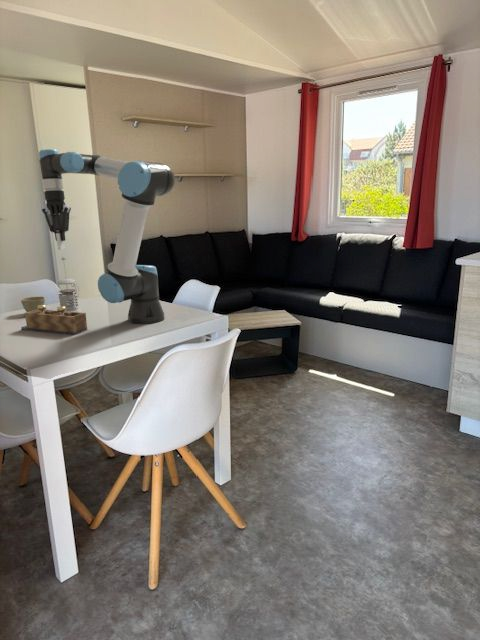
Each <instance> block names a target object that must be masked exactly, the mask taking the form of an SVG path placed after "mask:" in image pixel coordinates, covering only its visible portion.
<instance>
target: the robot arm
mask: <svg viewBox="0 0 480 640" xmlns="http://www.w3.org/2000/svg"><path fill="white" fill-rule="evenodd" d="M38 158H39V159H38V161H39V167H40V174H41V180H42V186H43V190H44V192H43V193H44V195H43V196H44V200H45V201H46V204H45V207H44V208H42V209H41V212H42V213H43V215H44V217H45V219H46V223H47V225H48V229H49V232H51V233H53V234H54V237H55V241H56V243H57V244H56V246H57V249H58V250H65V249H66V243H65V241H66V234H65V233H66V232H69V227H70V213H71V211H72V208H71V207H70V206H67V205H66V202H65V201H64V200H65V199H66V198H65V197H66V196H65V191H64V190H63V189H64V183H63V175H64V174H85V175H94V176H99V177H104V178H109V179H112V180H117V185H118V189H119V190H120V192H121V198H122V200H123V201H124V205H123V208H122V214H121V218H120V223H119V224H120V225H119V228H118V232H117V239H116V245H115V249H114V254H113V258H112V261H111V262H110V263H108V264H107V268H106V272H105V273H102V275H100V276H99V278H98V280H97V289H98V292H99V293H100V295H101V297H102V298H103V299H104V301H106V302H107V303H109V304H116V303H118V304H119V303H122V302H125V301H129V300H130V305H129V309H128V313H127V314H128V315H127V320H128V322H129V323H131V324H138V325H139V324H140V325H141V324H142V325H143V324H154V323H159V322H161V321H163V320H165V312H164V309H163V307H162V305H161V302H160V293H159V277H158V276H159V275H158V270H157V267H156V266H155V265H149V264H148V265H147V264H137V261H138V257H139V252H140V247H141V243H142V239H143V235H144V230H145V226H146V222H147V217H148V213H149V212H148V211H149V209H150V208H151V207H153V206H154V205H155V203H156V202H155V201H156V197H162V196H165V195H168V194H169V193H170V192H171V191H173V188H174V186H175V182H176V178H175V173H174V171H173V170H172V169H171V168H170V167H169V166H168V165H167V164H165V163H161V162H149V161H142V160H135V161H125V160H120V159H115V158H109V157H105V156H103V155H99V154H83V153H78V152H76V151H66V152H62V153H59V151H58V150H57V149H51V148H50V149H40V150H39V152H38Z"/></svg>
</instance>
